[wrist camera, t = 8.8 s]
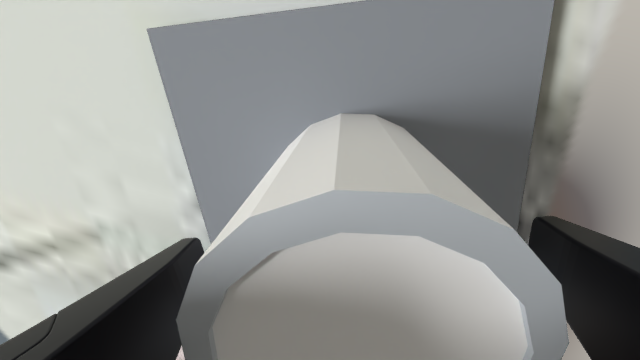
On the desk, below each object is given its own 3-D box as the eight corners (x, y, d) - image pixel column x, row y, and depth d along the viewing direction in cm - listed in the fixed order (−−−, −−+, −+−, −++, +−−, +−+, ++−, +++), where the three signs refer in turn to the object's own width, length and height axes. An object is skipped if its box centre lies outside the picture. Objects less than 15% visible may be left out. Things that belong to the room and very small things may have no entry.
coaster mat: (499, 292, 15) (505, 303, 14) (235, 303, 16) (232, 313, 15) (546, -22, 10) (558, -24, 9) (156, 28, 11) (146, 28, 10)
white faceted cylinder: (330, 48, 10) (314, 88, 4) (491, 169, 12) (670, 343, 5) (227, 205, 13) (117, 380, 7) (368, 289, 14) (390, 501, 8)
